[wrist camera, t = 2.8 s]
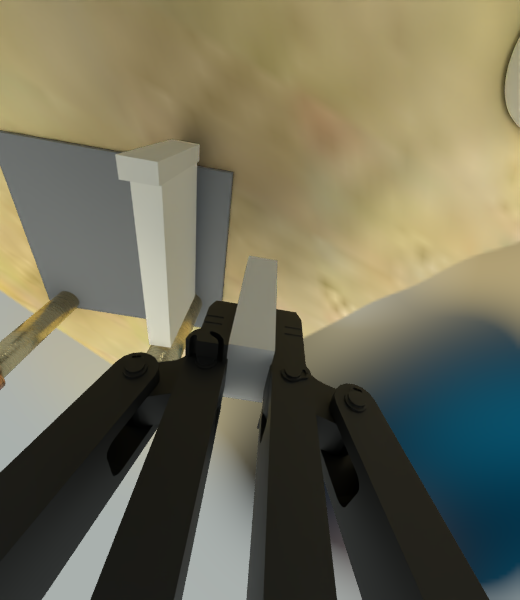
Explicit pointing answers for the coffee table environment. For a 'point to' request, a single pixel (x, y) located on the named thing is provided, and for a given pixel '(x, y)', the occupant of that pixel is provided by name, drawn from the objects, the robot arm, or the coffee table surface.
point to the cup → (513, 85)
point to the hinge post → (178, 335)
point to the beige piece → (164, 230)
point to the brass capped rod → (34, 331)
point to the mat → (102, 223)
